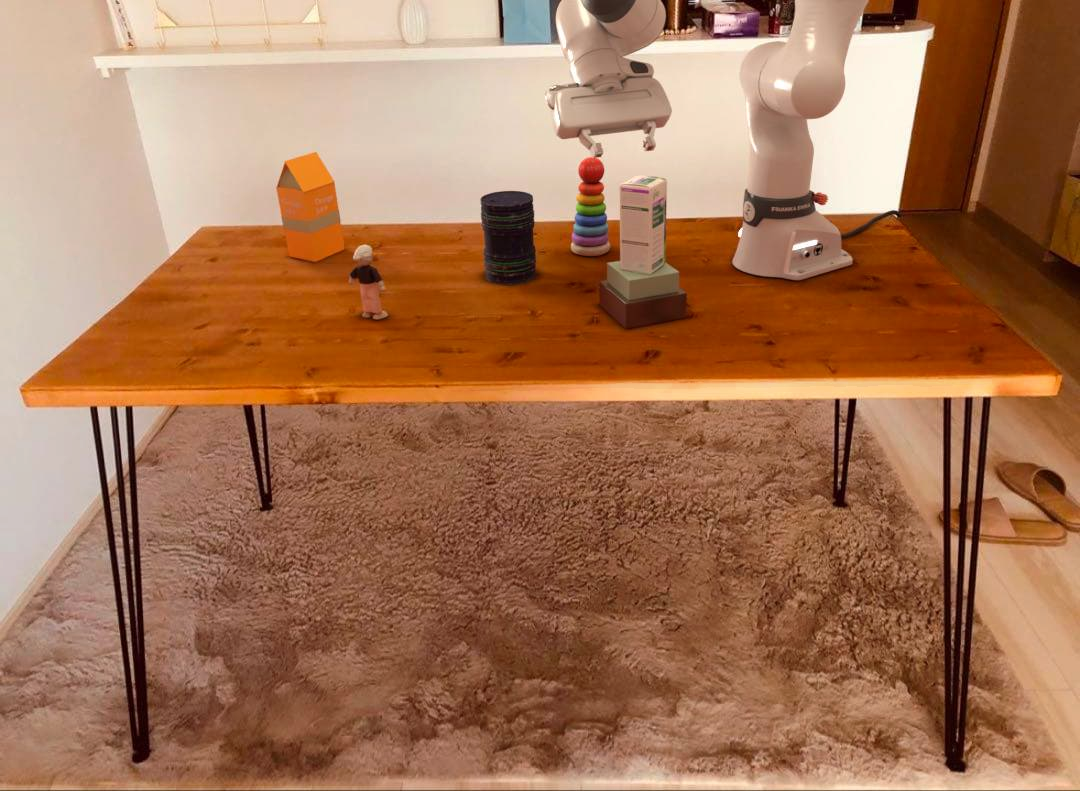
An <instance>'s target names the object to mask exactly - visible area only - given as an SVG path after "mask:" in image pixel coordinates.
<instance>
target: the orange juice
mask: <svg viewBox="0 0 1080 791" xmlns="http://www.w3.org/2000/svg"><path fill="white" fill-rule="evenodd" d="M335 185H336V184H335V180H334V178H333V177H332V175H331V173H330V172H329V170H328V168H327V167H326V165H325V164H324V162H323V161H322V158H321V157H320V156H319V154H318V152H317V151H314V152H311V153H307V154H304V155H300V156H298V157H293V158H291V159H287V160H284V164H283V167H282V169H281V173H280V176H279V179H278V183H277V185H276V187H275V188H276V193H277V200H278V205H279V210H280V215H281V222H282V228H283V231H284V237H285V242H286V248H287V252H288V257H290V258H294V259H298V260H304V261H309V262H313V263H316V262H319V261H321V260H323V259H326V258H328V257H330V256H332V255H334V254H337V253H340V252H342V251H344V250H345V241H344V235H343V229H342V222H341V215H340V214H341V213H340V209H339V203H338V197H337V191H336V190H337V188H336V186H335Z"/></svg>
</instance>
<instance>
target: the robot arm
mask: <svg viewBox="0 0 1080 791" xmlns="http://www.w3.org/2000/svg"><path fill="white" fill-rule="evenodd" d="M869 1H870V0H794V9H795V11H794V17H793V22H792V26H791V30H790V33H789V36H788V39H787V40H786V42H785V41H781V40H776V41H770V42H765V43H762V44H759V45H756V46H754V47H753V48H752V49H750V51H749V52H747V53H746V54H745V56H744V58H743V60H742V61H741V63H740V67H739V73H738V76H739V82H740V85H741V88H742V89H743V90H742V91H743V94H744V98H745V99H744V100H745V107H746V108H745V110H746V117H747V118H746V119H747V127H748V136H749V158H748V171H747V172H748V174H747V185H746V188H745V189H744V195H743V202H742V227H741V228H740V230H739V231H738V237H739V240H738V244H737V247H736V249H735V253H734V256H733V258H732V261H731V263H732V265H733V266H734V267H735V269H738V270H739V271H742V272H744V273H747V274H751V275H753V276H754V275H755V276H760V277H767V278H768V277H769V278H779V279H780V278H782V279H785V280H791V281H803V280H805V279H809V278H811V277H812V278H813V277H815V276H818V275H822V274H826V273H828V272H833V271H836V270H839V269H842V268H845V267H848V266H851V265H853V261H854V259H853V257H852V255H851V254H850V253H849V252H847V251H846V250H844V249H842V239H846V238H850V237H854V236H855V235H857V234H859V233H860V232H862V231H865V230H866V229H869V228H870V227H871V226H872V225H873V224H875V223H876V222H878V221H880V220H883V219H884V218H887V217H889V216H892V215H894V216H896V217H897V218H902V217H903V216H902V214H901V212H900V211H898V210H895V209H892V210H888V211H886V212H884V213H882V214H879V215H877V216H875V217H873V218H871V219H870V220H869V221H867V222H866V223H864V224H863V225H860V226H859V227H857V228H855V229H854V230H851V231H850V232H847V233H843V234H841V232H840V230H839V228H838V227H837V226H836V225H835V224H833V223H832V222H833V221H831V220H829V219H827V218H826V217H825V216H824V215H822V214H821V213H820V212H819V211H818V210H816V208H817V207H816V205H815V204H818V205H820V206H825V205H826V204H827V203H828V202H829V201H828V200H829V196H828V195H827V194H825V193H822V192H821V191H818V192H816V193H815V192H814V191H813V190H811V189H810V187H811V179H812V173H813V172H812V171H813V164H814V163H813V162H814V155H815V146H814V143H813V140H812V138H811V135H810V132H809V131H810V130H809V125H808V120H817V119H822V118H823V117H825V116H827V115H829V114H831V113H832V112H833V111H834V110H835V109H836V108H837V107H838V105H839V104H840V102H841V101H842V99H843V97H844V94H845V90H846V76H845V64H846V60H847V56H848V53H849V48H850V44H851V41H852V38H853V35H854V32H855V31H856V30H855V29H856V27H857V24H858V23H859V20H860V18H861V17H862V14H863V12H864V10H865V9H866V7H867V5H868V3H869ZM666 21H667V10H666V7H665V5H664V3H663V2H662V0H560V1H559V4H558V6H557V9H556V13H555V25H556V32H557V36H558V40H559V44H560V48H561V51H562V54H563V56H564V58H565V60H566V61H567V62H568V65H569V75H570V78H571V81H572V83H566V84H554V85H551V87H550V88H548V89H547V90H546V91H545V93H544V94H545V95H544V97H545V101H546V104H547V106H548V108H549V109H550V110H551V119H552V125H553V129H554V133H555V135H556V136H557V137H559V139H560V140H569V139H577V138H578V140H579V143H580V144H581V145H582V146H583V147H585V148H586V149H587V151H589V153H590V157H592V158H597V159H598V158H602V156H603V154H604V149H603V146H602V142H596V141H595V140H594V139H593V138H592V137H594V136H595V137H596V136H602V135H609V134H610V135H613V134H618V133H626V132H627V133H629V132H636V131H642V132H643V134H644V135H647V136H644V138H643V141H642V142H641V145H642V148H643V151H644V152H650V151H654V150H655V148H656V140H655V138H654V137H655V132H656V129H661V128H664V127H665V126H666V125H667V123H668V122H669V120H670V118H671V117H672V113H673V110H672V106H671V103H670V100H669V98H668V95H667V93H666V91H665V89H664V87H663V85H662V84H661V83H660V81H659V80H658V79H656V78H654V74H655V68H654V67H653V65H652V64H651V63H648V62H644V61H637V60H635V59H630V58H627V57H626V56H629V55H631V54H634V53H637V52H639V51H640V50H642V49H645V48H647V47H650V46H651V45H652V44H654V42H656V40H658V38H659V37H660V36H661V34H662V32H663V30H664V28H665V26H666Z"/></svg>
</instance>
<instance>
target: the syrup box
mask: <svg viewBox="0 0 1080 791" xmlns="http://www.w3.org/2000/svg"><path fill="white" fill-rule="evenodd" d="M667 180H668V178H664V177H658V176H652V175H635V176H634V177H632V178H631V179H628V180H626V181H625V182H622V183H620V184H619V261H620V268H621V269H622V270H626V271H630V272H636V273H642V274H649V275H651V274H652V272H654V271H656V270H657V269H658V268H660V267H661V266H662V265H664V264H665V262H666V260H667V258H666V253H667V250H666V249H667V198H668V197H667V196H668V194H667V192H668V188H667V187H668V181H667ZM666 263H667V262H666Z"/></svg>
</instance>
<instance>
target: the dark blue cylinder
mask: <svg viewBox="0 0 1080 791" xmlns="http://www.w3.org/2000/svg"><path fill="white" fill-rule="evenodd" d="M533 203H534V196H533V195H532V194H531V193H529V192H526V191H519V190H501V191H493V192H490V193H486V194H484V195H482V196H481V197H480V205H481V206H480V218H481V219H480V220H481V228H482V229H481V230H482V231H483V236H484V248H483V262H484V263H483V265H484V269H485V278H486V280H487V281H488V282H491V283H493V284H497V285H518V284H524V283H527V282H529V281H532V280H533V279H535V278H536V276H537V270H536V266H537V265H536V263H537V254H536V251H537V249H536V246H535V242H534V228H535V223H536V221H535V210H534V204H533Z"/></svg>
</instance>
